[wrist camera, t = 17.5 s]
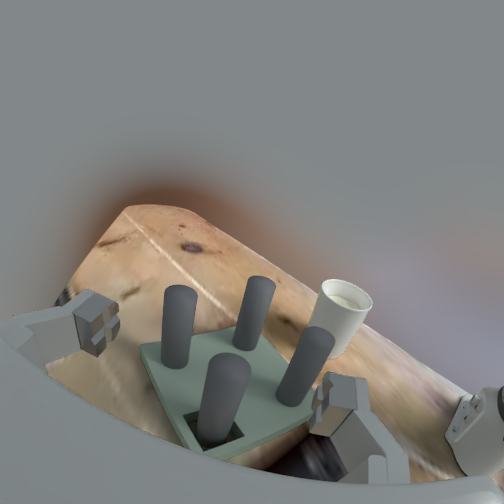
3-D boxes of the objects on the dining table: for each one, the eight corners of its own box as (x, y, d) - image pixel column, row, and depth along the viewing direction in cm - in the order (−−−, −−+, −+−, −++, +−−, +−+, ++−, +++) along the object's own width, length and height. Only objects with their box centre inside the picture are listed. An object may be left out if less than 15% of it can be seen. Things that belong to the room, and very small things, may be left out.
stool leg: (211, 417, 33) (230, 346, 27) (232, 437, 31) (260, 371, 25) (188, 432, 30) (199, 363, 24) (210, 453, 28) (230, 391, 22)
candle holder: (315, 366, 46) (342, 313, 41) (290, 331, 54) (311, 279, 49) (355, 357, 50) (383, 307, 45) (329, 326, 58) (351, 278, 53)
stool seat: (140, 355, 39) (140, 279, 34) (248, 333, 51) (268, 266, 45) (197, 470, 25) (211, 413, 20) (319, 413, 37) (362, 348, 31)
